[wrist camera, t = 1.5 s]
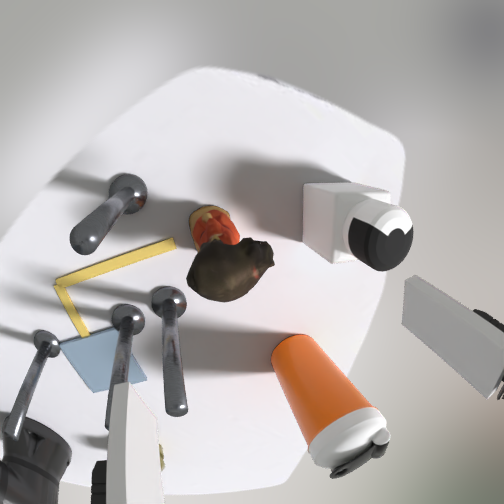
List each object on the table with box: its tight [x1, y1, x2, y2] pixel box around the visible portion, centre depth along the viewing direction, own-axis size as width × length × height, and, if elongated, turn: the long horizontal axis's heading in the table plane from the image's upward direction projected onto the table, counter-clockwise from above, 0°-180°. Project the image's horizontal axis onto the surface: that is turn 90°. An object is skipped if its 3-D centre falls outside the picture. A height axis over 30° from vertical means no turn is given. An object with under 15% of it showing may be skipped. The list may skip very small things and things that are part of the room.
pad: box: [59, 328, 147, 393], centre depth 32 cm, size 9×9×1 cm
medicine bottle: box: [303, 183, 413, 271], centre depth 28 cm, size 7×7×12 cm
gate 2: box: [4, 304, 145, 441], centre depth 23 cm, size 17×4×16 cm, turn 104°
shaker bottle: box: [271, 335, 391, 479], centre depth 31 cm, size 9×9×20 cm
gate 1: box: [70, 174, 188, 417], centre depth 22 cm, size 4×17×16 cm, turn 14°
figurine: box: [186, 206, 275, 302], centre depth 25 cm, size 6×6×12 cm
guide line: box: [54, 238, 177, 338], centre depth 30 cm, size 16×8×1 cm, turn 104°
